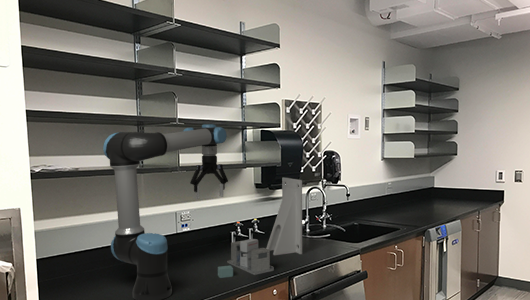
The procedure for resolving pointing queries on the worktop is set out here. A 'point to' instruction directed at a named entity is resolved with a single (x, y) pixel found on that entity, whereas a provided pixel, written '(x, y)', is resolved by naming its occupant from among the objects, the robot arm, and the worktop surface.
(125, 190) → the robot arm
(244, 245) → the ink box
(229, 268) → the block
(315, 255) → the worktop surface
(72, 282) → the worktop surface
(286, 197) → the grey mounting bracket
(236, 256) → the box holder
